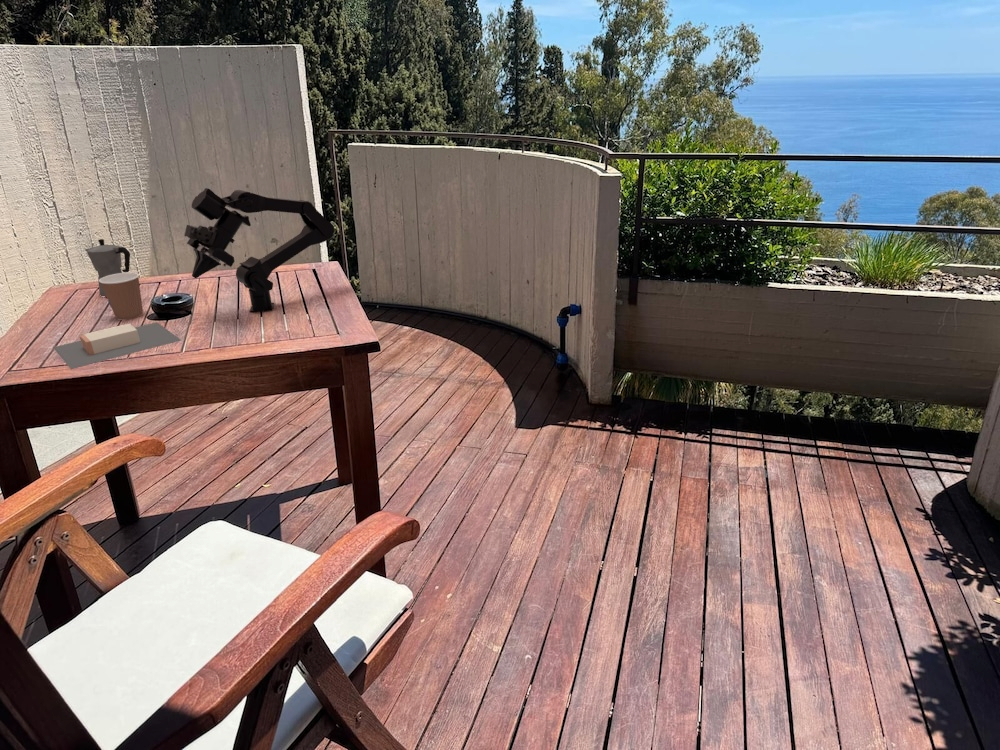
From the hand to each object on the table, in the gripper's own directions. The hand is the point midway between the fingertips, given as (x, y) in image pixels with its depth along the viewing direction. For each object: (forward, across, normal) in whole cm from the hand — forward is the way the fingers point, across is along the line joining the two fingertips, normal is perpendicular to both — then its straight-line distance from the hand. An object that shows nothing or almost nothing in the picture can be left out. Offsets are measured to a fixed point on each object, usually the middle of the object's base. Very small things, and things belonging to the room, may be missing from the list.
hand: (193, 277), depth 184 cm
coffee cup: (+19, -22, 0) cm, 30 cm away
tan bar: (+21, 0, -5) cm, 21 cm away
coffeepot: (+16, -50, +4) cm, 53 cm away
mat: (+26, 0, -7) cm, 26 cm away
